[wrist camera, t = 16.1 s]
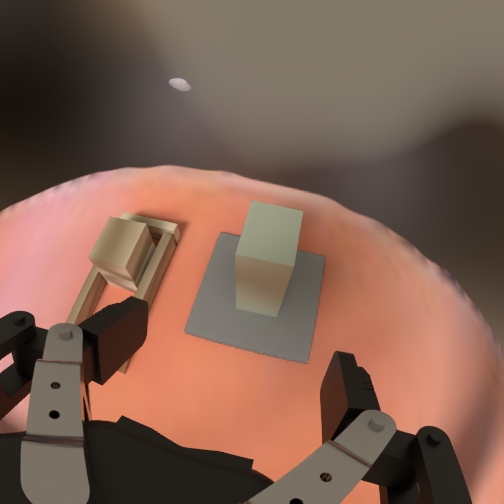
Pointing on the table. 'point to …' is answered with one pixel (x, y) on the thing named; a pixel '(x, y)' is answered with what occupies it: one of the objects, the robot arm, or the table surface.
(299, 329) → the grey mat
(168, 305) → the table surface
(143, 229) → the upper offcut
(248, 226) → the pale green rectangular block
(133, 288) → the block
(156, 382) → the table surface
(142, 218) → the birch rack
